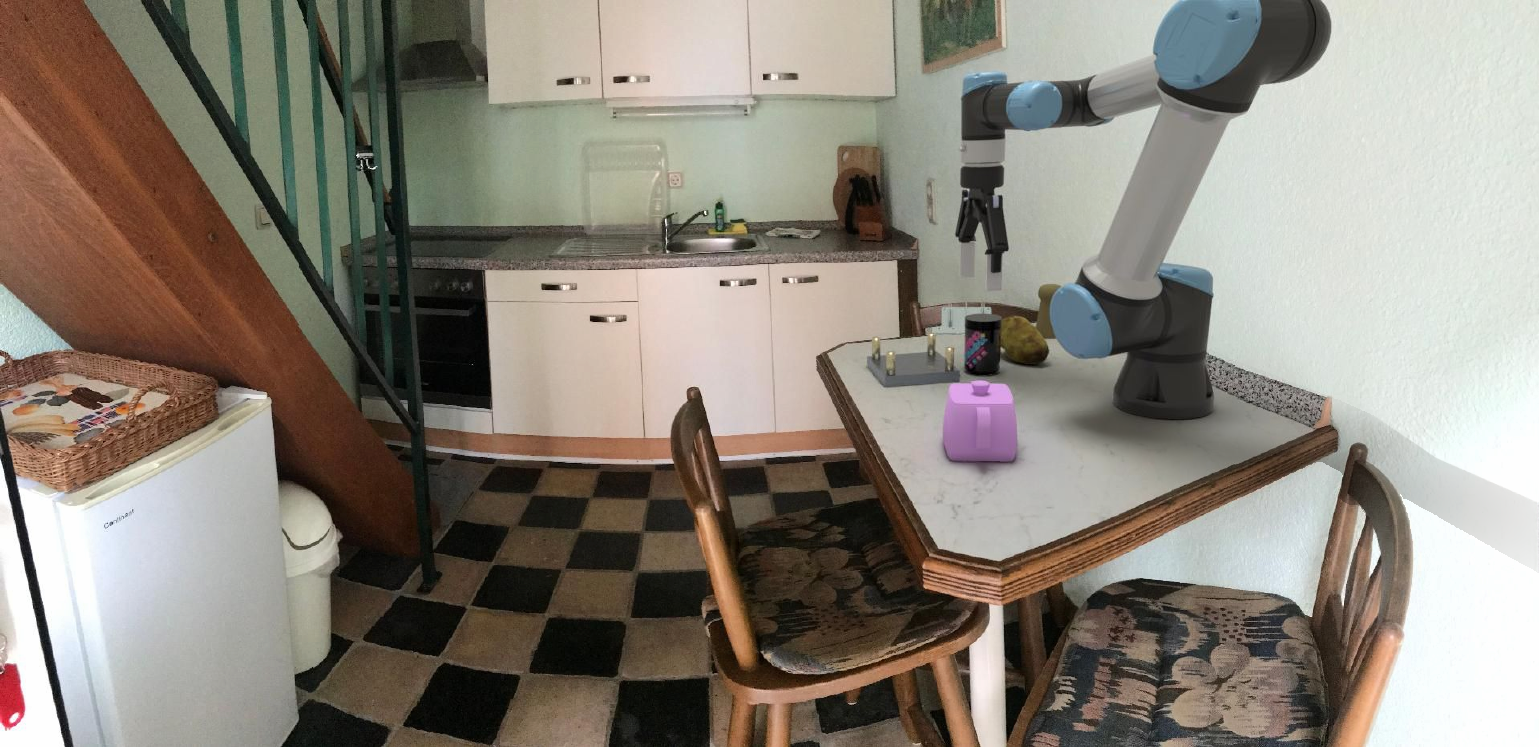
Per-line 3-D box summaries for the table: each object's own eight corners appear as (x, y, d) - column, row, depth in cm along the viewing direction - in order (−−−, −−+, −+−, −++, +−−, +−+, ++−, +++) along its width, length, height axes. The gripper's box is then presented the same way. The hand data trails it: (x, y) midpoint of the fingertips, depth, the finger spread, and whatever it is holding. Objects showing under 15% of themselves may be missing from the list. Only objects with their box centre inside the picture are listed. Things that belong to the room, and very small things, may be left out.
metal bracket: (933, 298, 207) (1000, 298, 204) (933, 320, 210) (998, 320, 207) (932, 329, 195) (1003, 330, 192) (932, 352, 198) (1001, 353, 196)
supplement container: (961, 366, 172) (962, 313, 169) (997, 366, 172) (998, 312, 169) (966, 376, 166) (967, 322, 163) (1003, 376, 165) (1005, 321, 162)
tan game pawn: (1040, 339, 189) (1042, 288, 186) (1030, 332, 195) (1032, 282, 192) (1068, 337, 190) (1071, 286, 187) (1056, 331, 195) (1059, 281, 192)
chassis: (959, 381, 163) (960, 349, 162) (884, 387, 162) (884, 355, 160) (936, 361, 177) (936, 331, 175) (867, 366, 175) (866, 336, 174)
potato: (1007, 369, 169) (1009, 328, 167) (991, 351, 182) (992, 313, 180) (1051, 367, 169) (1053, 326, 167) (1032, 349, 182) (1033, 311, 180)
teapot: (940, 426, 141) (941, 364, 139) (1009, 427, 140) (1011, 364, 137) (944, 470, 124) (945, 400, 121) (1022, 472, 123) (1025, 401, 120)
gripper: (939, 162, 169) (938, 273, 175) (987, 170, 145) (984, 298, 151) (977, 160, 170) (975, 270, 176) (1031, 167, 146) (1026, 295, 152)
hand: (979, 283), depth 164 cm, fingers open, 13 cm apart
